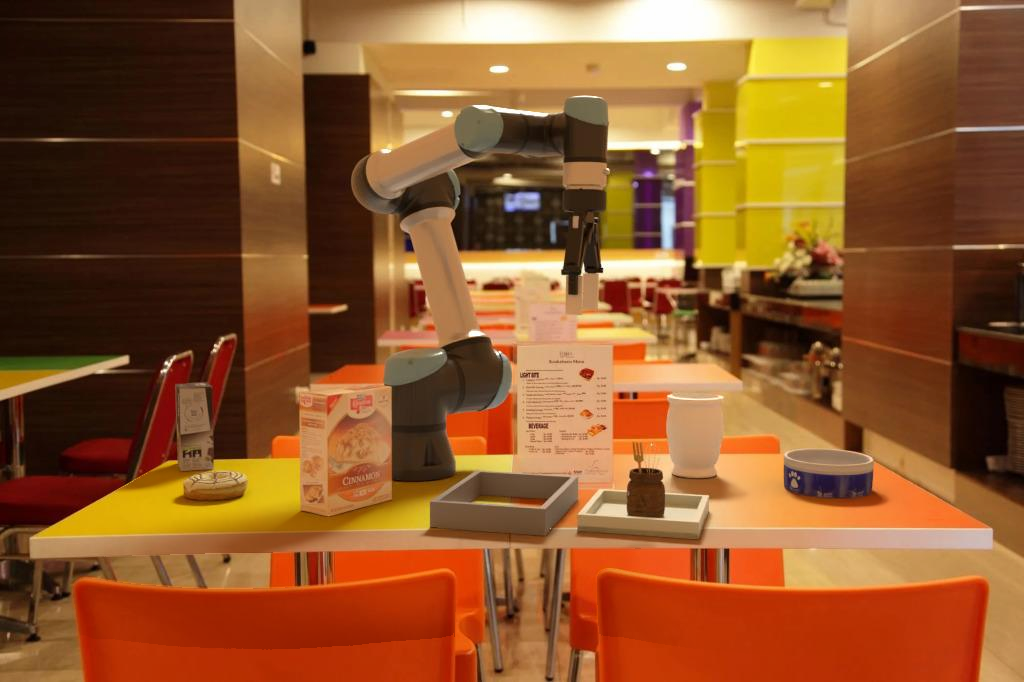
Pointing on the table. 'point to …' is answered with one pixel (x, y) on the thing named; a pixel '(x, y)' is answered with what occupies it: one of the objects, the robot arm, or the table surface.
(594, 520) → the tray
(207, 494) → the decorated donut
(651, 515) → the brown container
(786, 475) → the dog bowl
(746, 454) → the table surface
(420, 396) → the robot arm
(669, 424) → the jar
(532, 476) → the bottomless rectangular frame
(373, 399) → the coffeecake box
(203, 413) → the coffee box
